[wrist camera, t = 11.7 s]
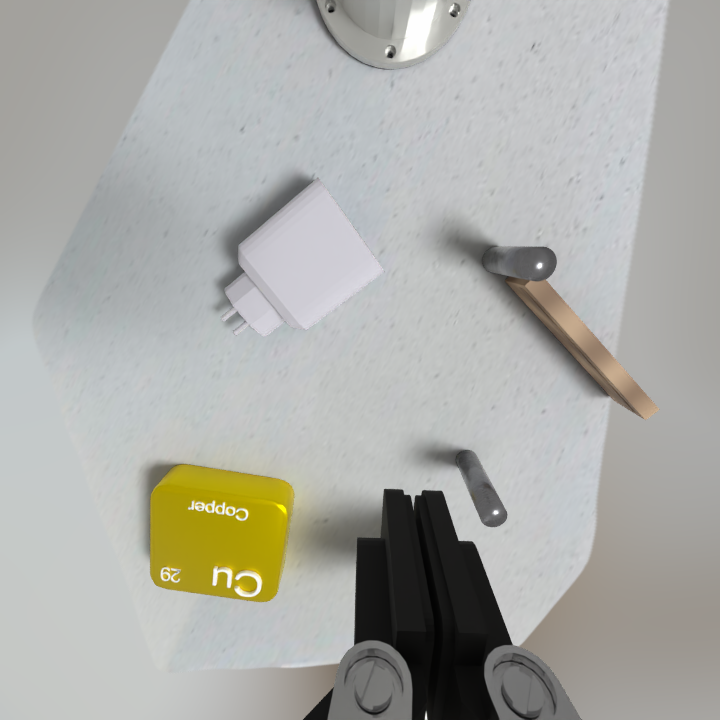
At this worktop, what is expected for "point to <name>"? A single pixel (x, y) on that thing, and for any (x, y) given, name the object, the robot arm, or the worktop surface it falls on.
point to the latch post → (481, 489)
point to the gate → (582, 344)
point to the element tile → (219, 532)
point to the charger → (300, 265)
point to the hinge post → (521, 262)
